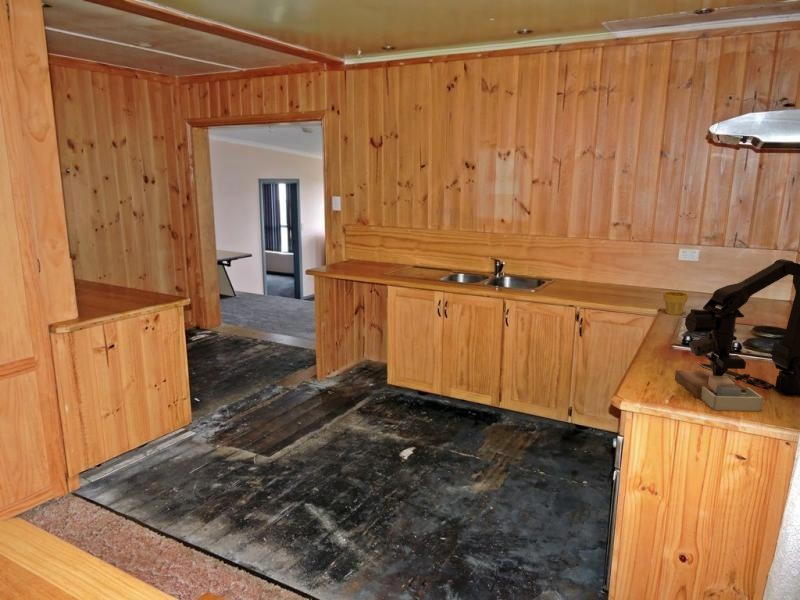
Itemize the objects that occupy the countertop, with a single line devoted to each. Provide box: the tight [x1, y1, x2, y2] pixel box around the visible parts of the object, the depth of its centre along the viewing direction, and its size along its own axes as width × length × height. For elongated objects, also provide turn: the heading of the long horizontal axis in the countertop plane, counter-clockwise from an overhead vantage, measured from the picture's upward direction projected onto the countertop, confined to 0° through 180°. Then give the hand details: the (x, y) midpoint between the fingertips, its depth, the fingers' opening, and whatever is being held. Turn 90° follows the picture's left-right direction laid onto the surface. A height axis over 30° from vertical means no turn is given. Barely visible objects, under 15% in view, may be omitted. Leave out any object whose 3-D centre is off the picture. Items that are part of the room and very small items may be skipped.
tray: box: [700, 386, 764, 412], centre depth 159 cm, size 13×8×4 cm, turn 85°
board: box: [674, 369, 746, 399], centre depth 171 cm, size 14×16×3 cm
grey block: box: [717, 385, 741, 397], centre depth 159 cm, size 5×5×3 cm
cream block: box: [708, 376, 735, 392], centre depth 163 cm, size 5×5×3 cm
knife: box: [698, 362, 776, 390], centre depth 182 cm, size 25×6×1 cm, turn 18°
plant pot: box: [663, 291, 689, 316], centre depth 262 cm, size 10×10×10 cm
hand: (716, 380), depth 167 cm, fingers closed
